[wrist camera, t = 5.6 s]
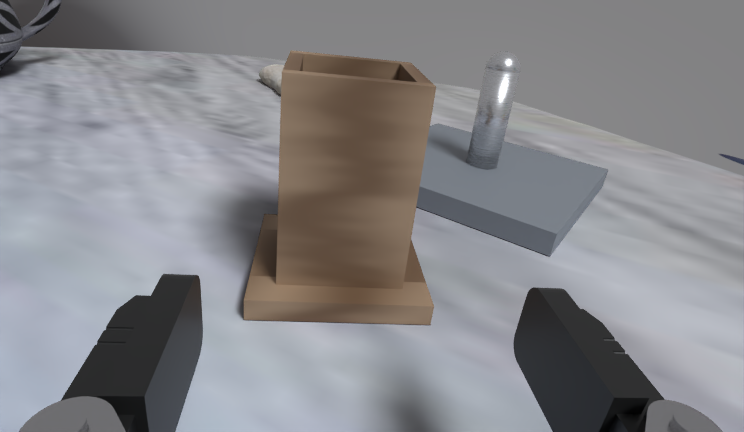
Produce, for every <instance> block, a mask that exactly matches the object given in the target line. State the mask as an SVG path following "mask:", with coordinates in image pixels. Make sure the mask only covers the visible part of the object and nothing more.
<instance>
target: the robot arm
mask: <svg viewBox="0 0 744 432" xmlns="http://www.w3.org/2000/svg"><path fill="white" fill-rule="evenodd" d="M202 337H203V325H202V307H201V288H200V279H199V276H198V275H176V274H163V275H162V276H161V278H160V280H159V282H158V284H157V285H156V287H155V289H154V291H153V293H152V295H151V296H138V295H136V296H134V297H133V298H132V299H130V300H129V301H128V302H127V303H125V304H124V305H123V306H121V307H120V308H119V309H117V310H116V312H115V314H114V315H113V317H112V318H111V320H110V322H109V323H108V325H107V327H106V330H104V331H103V333H102V335H101V336H100V338H99V340H98V341H97V345H95V346H94V348H93V349H92V351H91V353H90V354H89V356H88V357H87V359H86V361H85V362H84V364H83V366H82V367H81V369H80V370H79V372H78V374H77V375H76V377H75V378H74V380H73V382H72V383H71V385H70V387H69V388H68V390H67V391H66V393H65V395H64V396H63V398H62V400H61V401H59V402H56V403H54V404H52V405H50V406H48V407H46V408H44V409H43V410H41V411H39V412H38V413H37V414H35V415H34V416H33V417H31V418H30V419H29V420H28V421H27V422H26V423H25V424H24V426H23V427H22V428H21V429H20V431H19V432H175V430H176V427H177V424H178V421H179V418H180V415H181V412H182V409H183V406H184V403H185V399H186V396H187V393H188V390H189V387H190V384H191V381H192V378H193V375H194V372H195V368H196V365H197V362H198V359H199V356H200V352H201V346H202ZM614 339H615V338H614V337H613V336H612V334H611V333H610V332H609V331H608V330H607V328H606V327H605V326H604V325H603V323H602V322H600V321H599V320H597V319H596V318H595V317H593V316H592V315H591V314H589V313H588V312H587V311H585V310H584V309H580V308H579V307H578V306H577V305H576V303H575V302H574V301H573V299H572V298H571V297H570V296H569V294H568V293H567V292H566V291H565V290H564V289H556V288H532V289H530V290H529V292H528V294H527V297H526V300H525V303H524V307H523V310H522V313H521V316H520V320H519V323H518V326H517V329H516V333H515V337H514V353H515V357H516V360H517V362H518V364H519V366H520V368H521V370H522V372H523V374H524V376H525V378H526V380H527V382H528V384H529V386H530V388H531V390H532V392H533V394H534V396H535V398H536V400H537V402H538V404H539V406H540V407H541V409H542V411H543V413H544V415H545V417H546V419H547V421H548V423H549V425H550V427H551V429H552V431H553V432H722V430H721V429H720V428H719V427H718V426H717V425H716V424H715V423H714V422H713V421H712V420H710V419H709V418H708V417H707V416H705V415H704V414H702V413H701V412H699V411H697V410H696V409H694V408H692V407H690V406H687V405H685V404H682V403H679V402H675V401H670V400H665V399H664V398H663V397H662V396H661V395H660V393H659V392H658V391H657V390H656V388H655V387H654V386H653V385H652V384H651V382H650V381H649V380H648V379H647V377H646V376H645V375H644V374H643V372H642V371H641V370H640V369H639V368H638V366H637V365H636V364H635V363H634V361H633V360H632V359H631V358H630V357H629V355H628V354H625V350H624V349H623V348H622V347H621V345H620V344H619V343H618V342H617V341H615V340H614Z"/></svg>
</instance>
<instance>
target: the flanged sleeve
mask: <svg viewBox="0 0 744 432" xmlns="http://www.w3.org/2000/svg"><path fill="white" fill-rule="evenodd" d="M435 91H436V86H435V85H434V84H433V83H431V82H430V81H429V80H428V79H427V78H426V77H425V76H424V75H423V74H422V73H421V72H420V71H419V70H418V69H417V68H416V67H415V66H414V65H413V64H412V63H409V62H398V61H389V60H379V59H369V58H359V57H349V56H340V55H330V54H320V53H309V52H299V51H290V54H289V56H288V58H287V61H286V63H285V66H284V68H283V70H282V81H281V118H280V155H279V192H278V215H276V214H264V218H263V222H262V226H261V230H260V235H259V239H258V243H257V247H256V251H255V255H254V259H253V264H252V268H251V272H250V276H249V280H248V284H247V289H246V293H245V297H244V320H269V321H306V322H343V323H379V324H416V325H430V324H431V319H432V314H433V309H434V305H433V302H432V299H431V296H430V293H429V290H428V287H427V285H426V282H425V279H424V276H423V273H422V270H421V267H420V264H419V261H418V258H417V255H416V252H415V249H414V246H413V244H412V241H411V235H412V229H413V223H414V217H415V211H416V205H417V199H418V193H419V187H420V181H421V175H422V169H423V163H424V157H425V151H426V145H427V139H428V133H429V127H430V121H431V115H432V109H433V103H434V97H435Z"/></svg>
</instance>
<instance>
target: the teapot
mask: <svg viewBox="0 0 744 432" xmlns="http://www.w3.org/2000/svg"><path fill="white" fill-rule="evenodd" d="M60 6H61V0H45V2H44V4H43V7H42V9H41V11H40V12H39V14H38V15H37V16H36V17H35V18H34V19H33V20H32V21H31V22H30V23H29V24H28V25H26V26H24V27H22V28H21V26H20V23H19V21H18V18H17V16H16V14H15V12H14V10H13V8H12V6H11V5H10V3H9V1H8V0H0V70H1V69H2V66H3V65H5V64H6V63H7V62H8V61H10V60H11V59H12V58H13V57H14V56H15V54H16V53H17V52H18V50H19V49H20V47H21V44H22V41H24V40H26V39H28V38H30V37H32V36H33V35H35V34H37V33H38V32H40V31H41V30H42V29H44V28H45V27H46V26H47V25H48V24H49V23H50V22H51V21H52V20H53V19H54V18H55V16H56V15H57V13H58V11H59V9H60Z"/></svg>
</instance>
